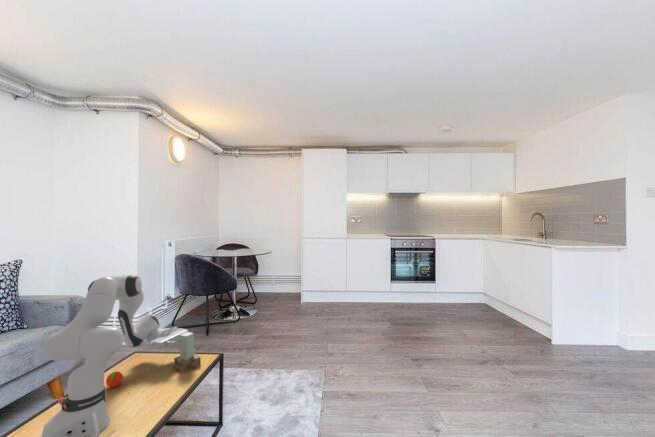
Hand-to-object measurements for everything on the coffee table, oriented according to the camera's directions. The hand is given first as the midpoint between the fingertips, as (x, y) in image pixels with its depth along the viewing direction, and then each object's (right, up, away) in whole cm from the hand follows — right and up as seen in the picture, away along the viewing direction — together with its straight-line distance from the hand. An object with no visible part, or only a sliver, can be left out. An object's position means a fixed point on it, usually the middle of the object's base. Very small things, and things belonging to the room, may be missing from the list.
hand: (181, 340), depth 175 cm
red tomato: (-22, -14, -22) cm, 35 cm away
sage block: (+4, -9, -2) cm, 10 cm away
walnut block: (+4, -13, -1) cm, 14 cm away
